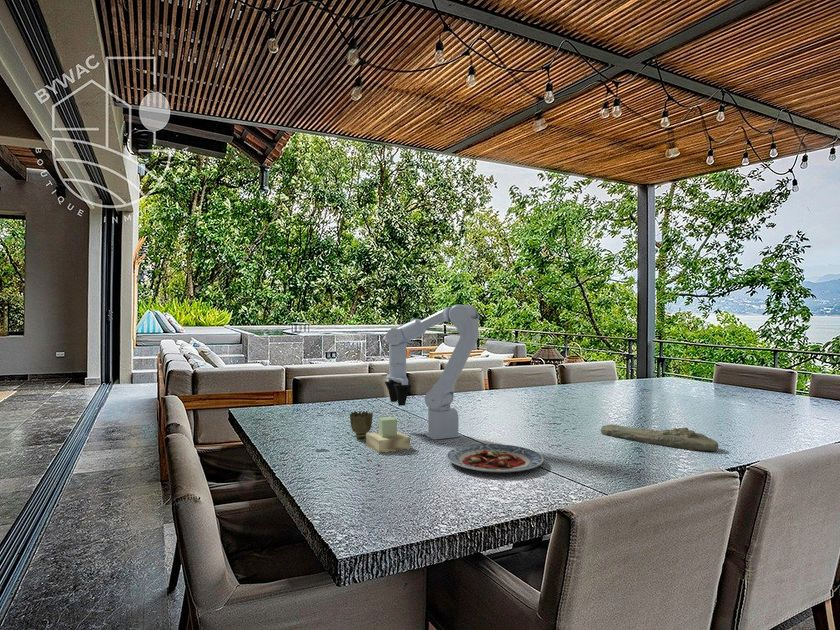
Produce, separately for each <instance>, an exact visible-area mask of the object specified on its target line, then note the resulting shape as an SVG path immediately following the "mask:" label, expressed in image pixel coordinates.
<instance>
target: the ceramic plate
mask: <svg viewBox="0 0 840 630" xmlns="http://www.w3.org/2000/svg"><path fill="white" fill-rule="evenodd" d="M446 459H447V461H449V462H450V463H451V464H453V465H456V466H459V467H461V468H464V469H469V470H474V471H477V472H480V473H481V472H482V473H490V474H506V473H509V474H510V473H515V472H521V471H527V470H531V469H535V468H537V467H539V466H540V465H542V464H543V463H544V460H545V458H544V456H543V455H542V454H540V453H539V452H537V451H535V450H533V449H531V448H527V447H521V446H519V445H513V444H511V445H510V444H501V443H475V444H467V445H461V446H458V447H455V448H453V449H450V450H449V451H448V452H447V454H446Z"/></svg>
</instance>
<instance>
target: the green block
mask: <svg viewBox="0 0 840 630" xmlns="http://www.w3.org/2000/svg"><path fill="white" fill-rule="evenodd" d="M377 422H378V434H379V435H380V436H381V437H393V436H397V431H398V419H397V418H396V417H394V416H383V417H378V419H377Z"/></svg>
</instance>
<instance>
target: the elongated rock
mask: <svg viewBox="0 0 840 630" xmlns="http://www.w3.org/2000/svg"><path fill="white" fill-rule="evenodd" d="M600 433H601V435H604V436H610V437H615V438H620V439H624V440H627V441H635V442H639V443H646V444H650V445H661V446H665V447H671V448H673V449H674V448H679V449H682V450H688V451H694V450H695V451H707V452H708V451H712V452H713V451H716V450H719V449H718V448H719V447H720V446H719V443H718V441H716V440H714V439H712V438H709V437H707V435H705V434H702V433H700V432H698V433H697V432H695V430H690V429H689V428H688V427H678V428H676V427H673V429H662V430H656V429H655V430H653V429H646V428H636V427H631V426H622V425H618V424H612V423H611V424H606V425H602V427H601V428H600Z"/></svg>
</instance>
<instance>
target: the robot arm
mask: <svg viewBox="0 0 840 630" xmlns="http://www.w3.org/2000/svg"><path fill="white" fill-rule="evenodd" d="M479 320H480V314H479V312H478V310H477V308H475V306H474V305H472V304H459V303H458V304H454V305H453V306H449V307H445V308H444V309H442V310H439V311H438V312H436V313H433V314H432V315H429V316H427V317H426V318H423V319H420V318H411V319H409V321H408V322H407V323H404V324H403V323H401V324H399V325H398V328H396V327H392V328H390V329H389V330H388V331H387V332H386V335H385V340H386V342H387V343H388V344H389V345H388V346H389V347H388V349H389V351H388V353H389V355H388V362H389V363H388V365H389V368H388V369H389V373H388V374H387V376H385V379H386V380H387V381H386V380H385V381H384V385H385V386H386V388H387V392H388V396H389V401H390V402H391V403H396V402H397V404H398V406H401V407H402V406H403V407H404V406H406V403H407V399H408V394H409V392H410V389H411V388H412V385H411V384H409V378H408V376H407V344H408V342H409V341H412V340H414V339H417V338H419V337H421V336H423V335H425V333H426V330H427V329H429V328H432V327H435V326H437V325H440V324H442V323H445V322H446V323H448V322H451V323H452V325H453V326H454V327H455V328H456V329H457V331H458V334H459V339H458V341H457V343H456V344H455V347H454V349H453V351H452V353H451V356H450V357H449V359H448V361H447V363H446V365H445V367H444V369H443V371H442V373H441V375H440V377H439V379H438V380H437V381H436V382H435V383H434V384H433V386H432V388H431V389H430V390H429V391H427V392H426V394H425V396H424V402H425V405H426V406H427V407H428V408H427V409H428V410H427V413H428V416H427V421H428V423H427V425H428V427H427V429H428V431H427V432H423V435H424V436H427V437H428V438H429V439H432V440H441V439H443V440H444V439H451V438H452V439H454V438H459V437H461V436H460V435H459V413H458V410H457V409H456V408H454V407H453V408H452V407H451V404H452V403H453V402H454V395H455V394H454V393H455V391H456V383H457V382H458V379H459V378H460V375H461V374H462V371H463V369H464V367H465V365H466V363H467V362H468V359H469V357H470V356H471V354H472V351H473V349H474V347H475V346H476V343H477V341H478V339H479V334H480V333H479Z"/></svg>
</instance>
